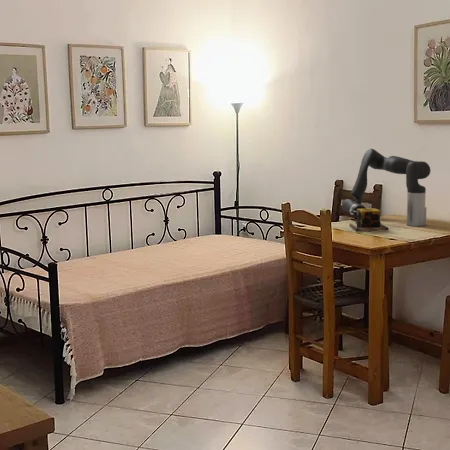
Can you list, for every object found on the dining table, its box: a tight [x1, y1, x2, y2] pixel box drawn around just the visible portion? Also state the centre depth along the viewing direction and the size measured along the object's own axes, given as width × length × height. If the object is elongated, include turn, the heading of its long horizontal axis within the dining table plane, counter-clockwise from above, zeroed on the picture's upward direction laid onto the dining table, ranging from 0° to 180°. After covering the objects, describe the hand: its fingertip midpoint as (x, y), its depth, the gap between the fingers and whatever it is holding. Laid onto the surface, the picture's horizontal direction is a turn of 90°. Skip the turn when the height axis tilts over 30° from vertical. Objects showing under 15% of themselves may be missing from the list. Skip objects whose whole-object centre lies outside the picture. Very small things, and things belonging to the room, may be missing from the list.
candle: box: [356, 207, 382, 228], centre depth 357 cm, size 10×10×10 cm
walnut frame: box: [348, 223, 389, 232], centre depth 358 cm, size 16×15×2 cm
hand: (366, 215), depth 362 cm, fingers closed
